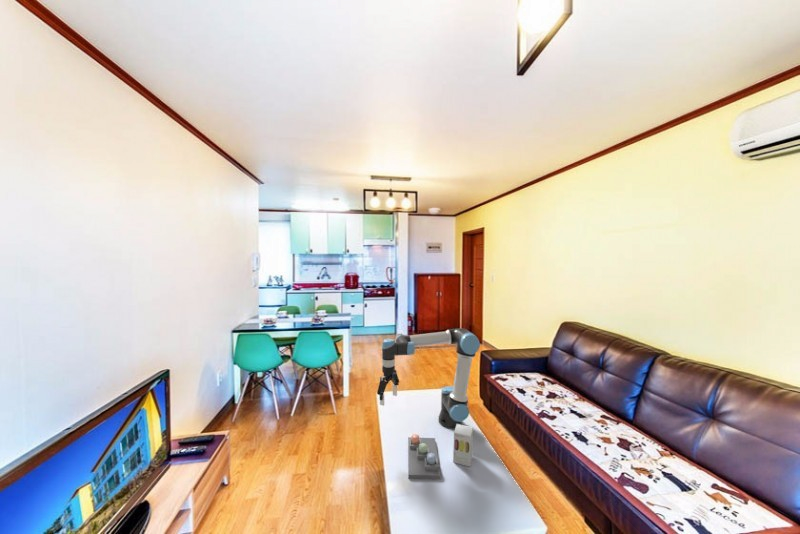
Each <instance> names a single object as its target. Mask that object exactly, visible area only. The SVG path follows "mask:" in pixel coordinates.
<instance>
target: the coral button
mask: <svg viewBox="0 0 800 534" xmlns="http://www.w3.org/2000/svg"><path fill="white" fill-rule="evenodd" d="M419 438H420V435H419V434H417V433H413V434H412V435H411V443H412V444H414V445H417V444H419Z"/></svg>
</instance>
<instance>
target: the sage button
mask: <svg viewBox="0 0 800 534" xmlns="http://www.w3.org/2000/svg"><path fill="white" fill-rule="evenodd" d="M419 453H420V454H426V453H427V445H426V444H425V443H420V444H419Z"/></svg>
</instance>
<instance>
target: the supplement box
mask: <svg viewBox="0 0 800 534" xmlns="http://www.w3.org/2000/svg"><path fill="white" fill-rule="evenodd" d="M473 437H474V427H473V426H468V425H465V424H461V425H460V424H457V425H456V428H454V433H453V451H452V452H453V453H452V454H453V455H452V457H453V458H452V463H455V464H459V465H463V466H466V467H471V465H472V460H473V441H474V440H473V439H474V438H473Z"/></svg>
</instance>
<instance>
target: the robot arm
mask: <svg viewBox="0 0 800 534" xmlns="http://www.w3.org/2000/svg"><path fill="white" fill-rule="evenodd" d="M381 343H382V344H381V351H382V354H381V355H382V356H381V357H382V358H381V359H382V362H381V365H382V366H381V367H382V369H381V371H382V373H383V376H380V377H379V378H380V380H379V384H378V388H377V392H376V394H377V396H378V395H379V405H380V406H383V407H384V406H385V391H386V388H387V385H388V384H389V383H390V381H391V382H392V396H394V397H397V396H398V386H399V384H400V379H399V377H398V372H397V369H396V366H395V365H396V357H395V356H412V355H414V354H415V351H416V348H415V347H426V346H432V345H433V346H434V345H442V344H448V345H456V351H455V353H456V354H457V360H456V367H455V374H454V378H453V386H450V385H449V386H447V385H446V386H444V387H442V388H441V395H440V396H441V399H440V400H441V401H440V405H441V407H440V408H441V409H440V412H439V415H438V423H439V425H441V426H442V427H444V428H448V429H455V428H456V425H457V424H460V425H462V422H463V421H464V420H466V419H467V418H468V417H469V415H470V410H469V407H468V404H469V398H468V395H467V393H468V386H469V379H470V375H471V367H472V362H473V358H475V357H476V353H477V352H478V351H479V350H480V345H481V343H480V339H479V338H478V337H477V336H476V335H475V334H474V333H473V332H471V331H469V330H468V329H466V328H463V327H462V328H460V327H459V328H458V327H457V328H451V329H450V328H449V329H447V330H445V331H438V332H429V333H419V334H413V335H412V334H411V335H404V334H399V335H397V336H396V338H395V339H393V338H385V339H383V341H382V342H381Z"/></svg>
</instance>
